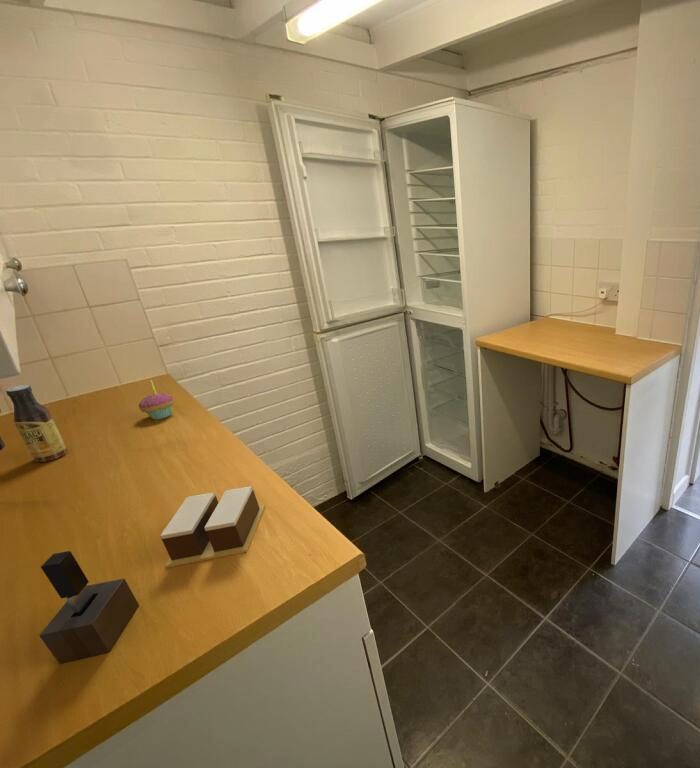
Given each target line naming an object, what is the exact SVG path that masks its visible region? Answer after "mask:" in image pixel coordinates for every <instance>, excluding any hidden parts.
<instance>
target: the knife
mask: <svg viewBox="0 0 700 768" xmlns="http://www.w3.org/2000/svg"><path fill="white" fill-rule="evenodd" d="M40 569H41V570H42V572H43V573H44V575H45V576H46V578H47V579H48V581H49V582H50V584H51V585H52V587H53V588H54V590H55V591H56V593H57V595H58V596H59V597H60V599H65V598H66V599H65V600H66V602H68V603H69V605H70V606H71V608H72V609H73V611H74V613H75V614H76V616H81V615H83V613H84V612H85V611H86V609H87V608H88V607H89V605H90V604H91V603H92V601H93V600H94V599H95V598H94V596H93V594H92V593H91V591H90V589H89V588H88V584H89V582H90V581H89V579H88V577H87V576H86V574H85V572H84V571H83V570H82V568H81V567H80V564H79V563H78V561H77V559H76V558H75V556H74V554H73V553H72V551H71V550H67V551H61V552H57V553H56V552H55V553H53V554H52V555H51V556H50V557H48V558H47V560H45V561H44V563H43V564H42V565H41V566H40Z"/></svg>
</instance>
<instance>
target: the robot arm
mask: <svg viewBox="0 0 700 768" xmlns="http://www.w3.org/2000/svg"><path fill="white" fill-rule="evenodd" d="M1 412H2V410H1V409H0V413H1ZM5 447H6V444H5V442H4V441H3V438H2V437H1V436H0V451H2V450H3V449H4V448H5Z"/></svg>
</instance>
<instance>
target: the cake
mask: <svg viewBox="0 0 700 768" xmlns="http://www.w3.org/2000/svg"><path fill="white" fill-rule="evenodd" d="M265 509H266V504H262V505H259V502H258V499H257V497H256V493H255V491H254V487H253V486H252V485H250V486H244V487H238V488H237V487H236V488H231V489H226V490H225V491H224V492H223V494H222V496H221V497H220V500H219V501H218V498H217V496H216V493H215V492H214V491H213V492H208V493H202V494H196V495H189V496H186V497H185V499H184V501H183V502H182V503H181V505H180V506H179V508H178V509H177V511H175V514H174V515H173V516H172V518H171V519H170V521H169V522H168V524H167V525H166V526H165V528H164V529H163V530H162V532H161V534H160V539H161V541H162V544H163V546H164V548H165V549H166V551H167V554H168V556H169V558H168V560H167V561H166V562H165V565H164V568H165V569H168V568H173V567H178V566H179V567H180V566H184V565H190V564H194V563H200V562H203V561H209V560H214V559H218V558H219V559H220V558H224V557H229V556H233V555H240V554H244V553H247V552H248V550H249V548H250V545H251V543H252V541H253V538H254V536H255V533H256V530H257V528H258V526H259V524H260V521H261V519H262V517H263V514H264V511H265Z"/></svg>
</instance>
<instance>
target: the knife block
mask: <svg viewBox="0 0 700 768" xmlns="http://www.w3.org/2000/svg"><path fill="white" fill-rule="evenodd" d="M87 586H88V588H89V589H90V591H91V593H92V594H93V596H94V598H95V599H94V600H93V601H92V603H91V604H90V605H89V607H88V608H87V609H86V611H85V612H84V613H83V615H81V616H76V614H75V613H74V611H73V609H72V608H71V606H70V605H69V603H68V602H67V601H65V603H64V604H63V606H62V607H61V608H60V609H59V610H58V611H57V613H56V614H55V615H54V617H53V618H52V619H51V620H50V621H49V622H48V624H47V625H46V626H45V627H44V629H43V630H42V631H41V632H40V634H39V635H38V636H39V637H40V639H41V640H42V642H43V643H44V645H45V646H46V647H47V648H48V650H49V652H50V653H51V654H52V656H53V657H54V658H55V660H56V661H57V662H58V664H59V665H61V664H66V663H70V662H73V661H78V660H83V659H87V658H91V657H96V656H100V655H104V654H107V653H110V652H111V651H112V650H113V648H114V646H115V644H116V643H117V641H118V640H119V638H120V636H121V635H122V633H124V630H125V629H126V627H127V626H128V624H129V622H130V621H131V619H132V617H134V614H135V613H136V611H137V609H138V608H139V606H140V604H139V602H138V600H137V599H136V596H135V595H134V594H133V592H132V590H131V589H132V588H130V586H129V584H128V582H127V580H126V579H125V578H120V579H115V580H108V581H104V582H99V583H94V584H89V585H88V584H87Z"/></svg>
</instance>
